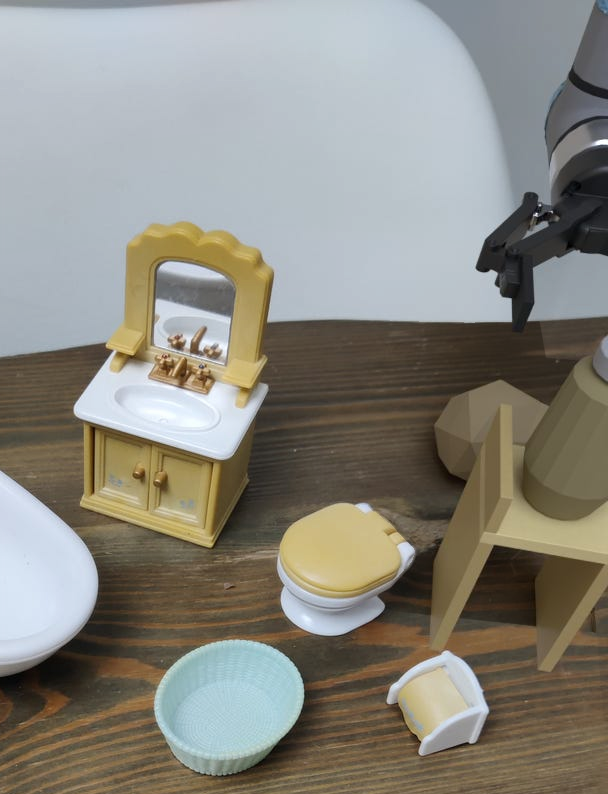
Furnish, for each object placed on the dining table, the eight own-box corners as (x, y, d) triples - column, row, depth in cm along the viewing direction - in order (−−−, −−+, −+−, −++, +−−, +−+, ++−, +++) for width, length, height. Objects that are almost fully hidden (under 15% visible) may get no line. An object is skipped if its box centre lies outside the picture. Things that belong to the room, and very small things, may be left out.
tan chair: (547, 582, 96) (637, 425, 80) (550, 672, 89) (650, 521, 73) (433, 561, 97) (500, 403, 81) (429, 649, 90) (500, 496, 74)
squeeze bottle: (512, 526, 78) (606, 336, 64) (503, 456, 83) (589, 264, 68) (616, 538, 78) (734, 349, 63) (601, 467, 82) (708, 276, 68)
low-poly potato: (397, 475, 104) (475, 502, 95) (416, 370, 100) (500, 387, 91) (500, 474, 111) (583, 498, 101) (522, 375, 107) (611, 390, 97)
